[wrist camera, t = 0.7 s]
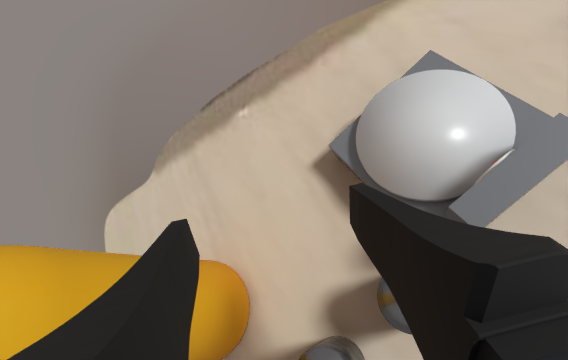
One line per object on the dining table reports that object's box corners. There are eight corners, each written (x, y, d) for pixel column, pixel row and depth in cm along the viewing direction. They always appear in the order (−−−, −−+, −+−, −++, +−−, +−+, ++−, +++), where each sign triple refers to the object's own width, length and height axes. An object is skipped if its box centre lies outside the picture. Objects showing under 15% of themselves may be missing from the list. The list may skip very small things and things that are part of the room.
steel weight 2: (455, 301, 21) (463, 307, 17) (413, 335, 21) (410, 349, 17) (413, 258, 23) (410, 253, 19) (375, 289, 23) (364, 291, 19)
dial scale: (574, 153, 21) (630, 106, 15) (443, 261, 22) (449, 254, 16) (429, 68, 27) (431, 13, 22) (335, 155, 29) (314, 125, 23)
